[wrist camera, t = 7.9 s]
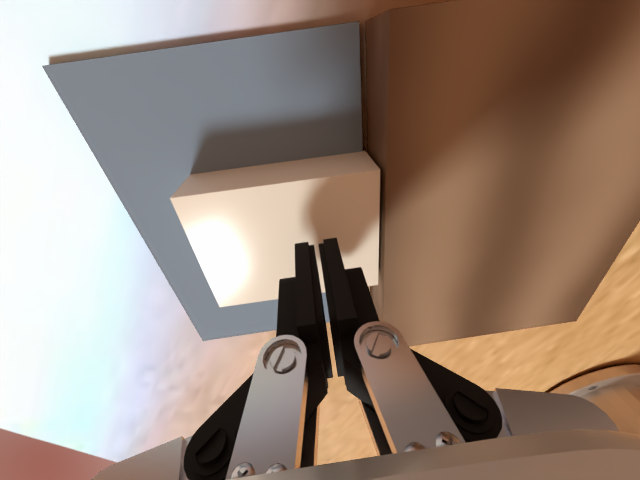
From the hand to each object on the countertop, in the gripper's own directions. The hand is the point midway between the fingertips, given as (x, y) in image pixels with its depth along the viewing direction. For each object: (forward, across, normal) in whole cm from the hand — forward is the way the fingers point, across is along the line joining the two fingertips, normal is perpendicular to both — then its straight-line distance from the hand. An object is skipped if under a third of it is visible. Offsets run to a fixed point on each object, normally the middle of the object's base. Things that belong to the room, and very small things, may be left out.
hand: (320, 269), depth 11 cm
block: (+4, +1, 0) cm, 4 cm away
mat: (+4, +3, 0) cm, 5 cm away
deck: (+4, -9, 0) cm, 10 cm away
